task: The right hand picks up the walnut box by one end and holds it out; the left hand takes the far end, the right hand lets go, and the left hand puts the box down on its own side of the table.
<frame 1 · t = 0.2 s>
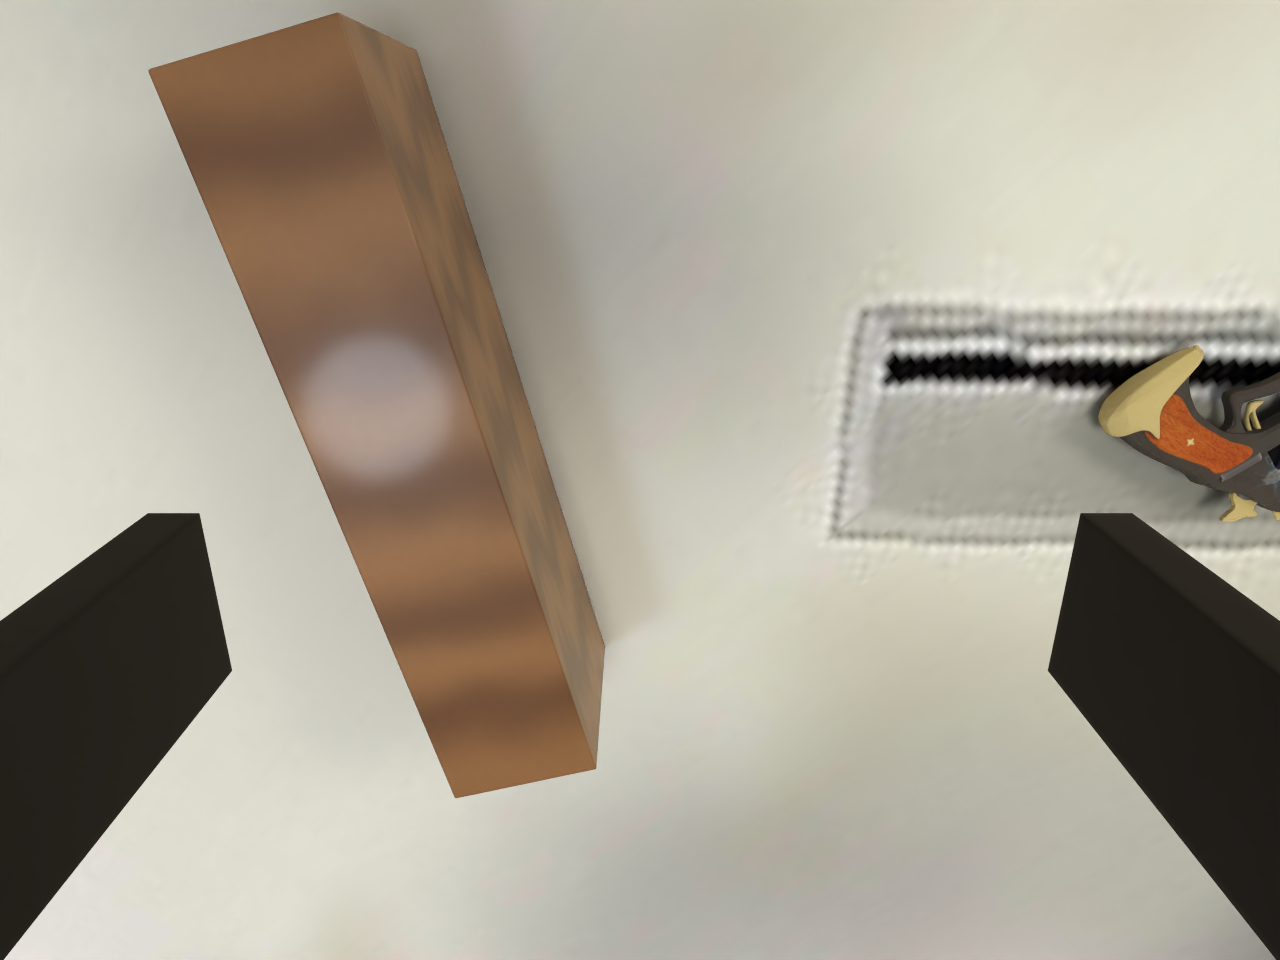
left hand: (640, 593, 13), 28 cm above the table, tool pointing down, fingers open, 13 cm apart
box: (458, 403, 41), on the table
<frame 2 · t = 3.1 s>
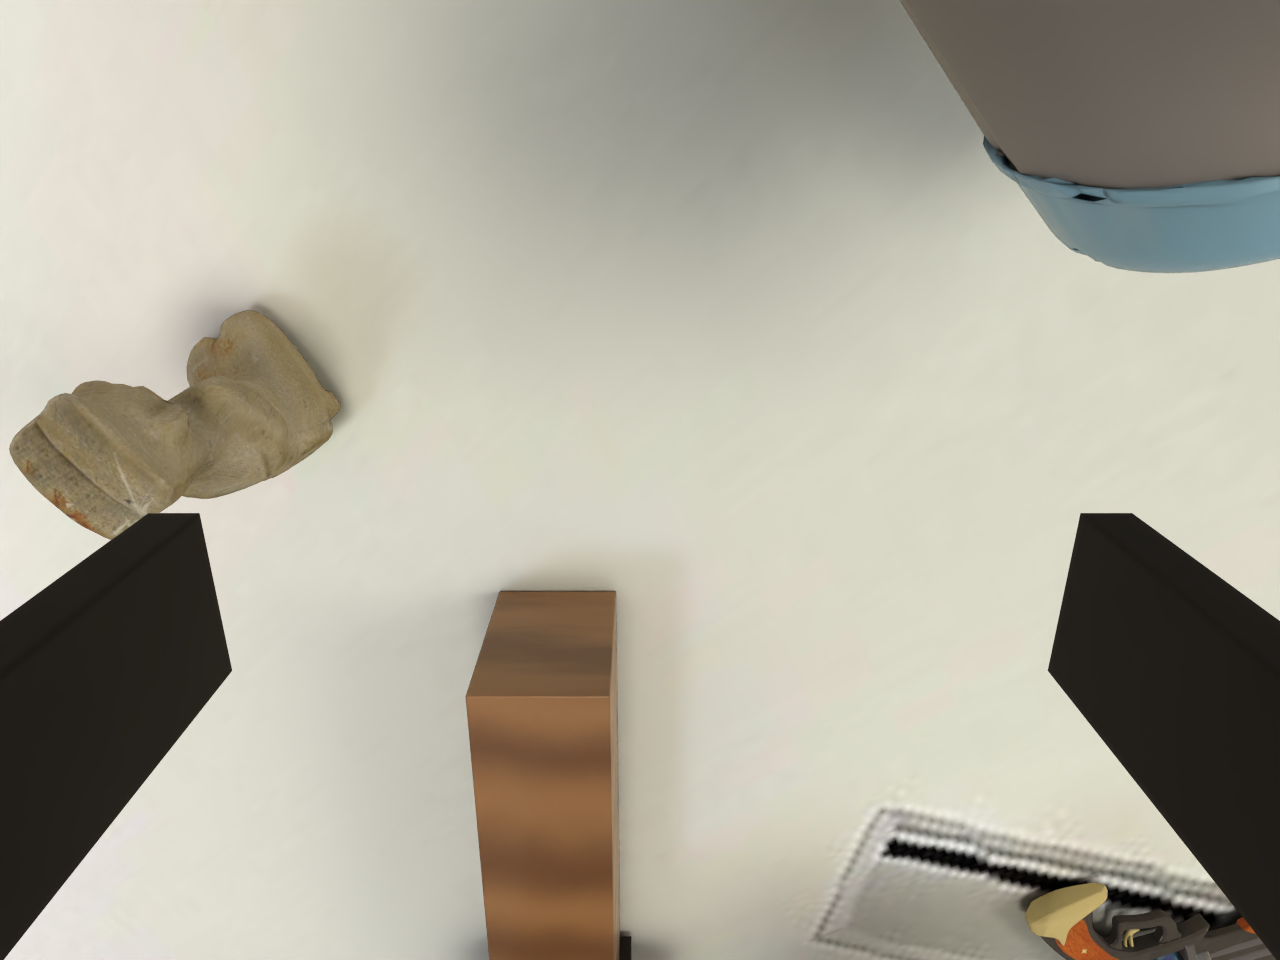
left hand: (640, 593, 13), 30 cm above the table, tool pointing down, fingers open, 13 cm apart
box: (566, 804, 52), on the table, touching right hand
sculpture: (283, 379, 42), on the table
toy gun: (1171, 911, 55), on the table
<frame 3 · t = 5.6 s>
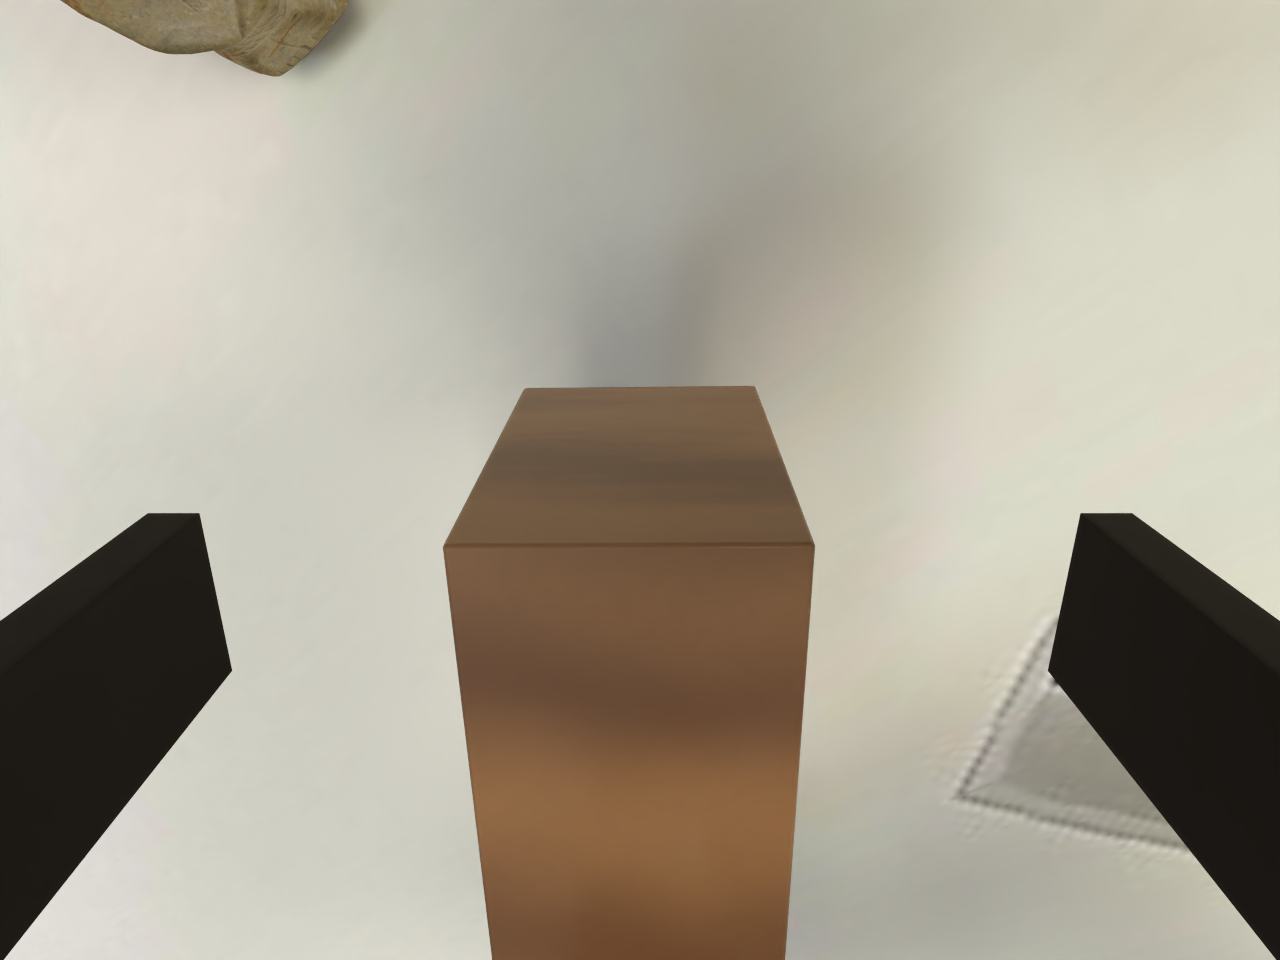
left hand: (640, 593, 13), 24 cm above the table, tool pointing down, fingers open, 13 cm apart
box: (646, 800, 29), point 12 cm above the table, touching right hand
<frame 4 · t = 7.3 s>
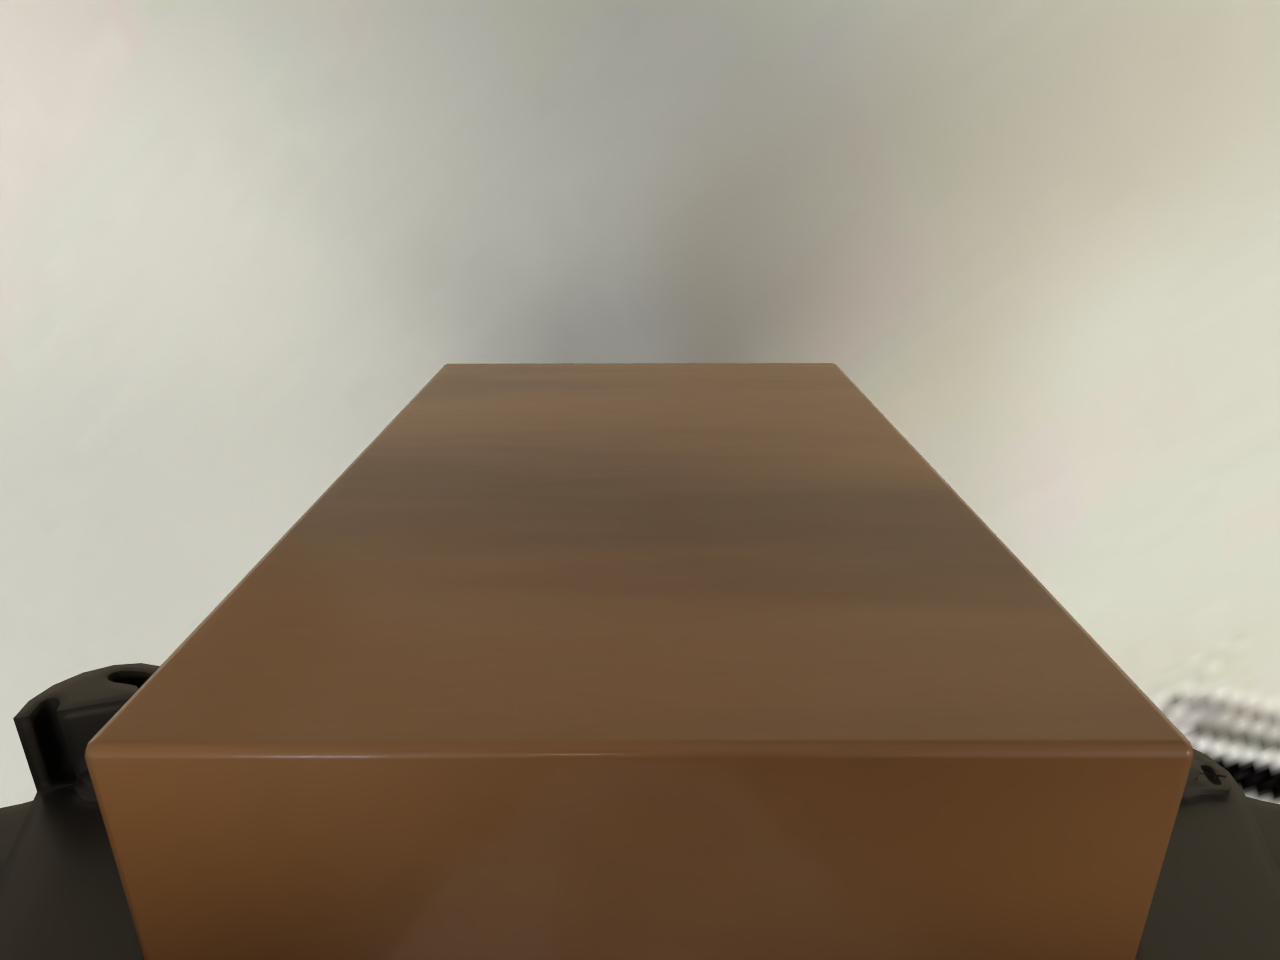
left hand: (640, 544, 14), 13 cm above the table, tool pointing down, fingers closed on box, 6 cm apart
when the right hand's fingers open (13 cm above the table, at t = 8.2 s): box stays where it is, held by the left hand.
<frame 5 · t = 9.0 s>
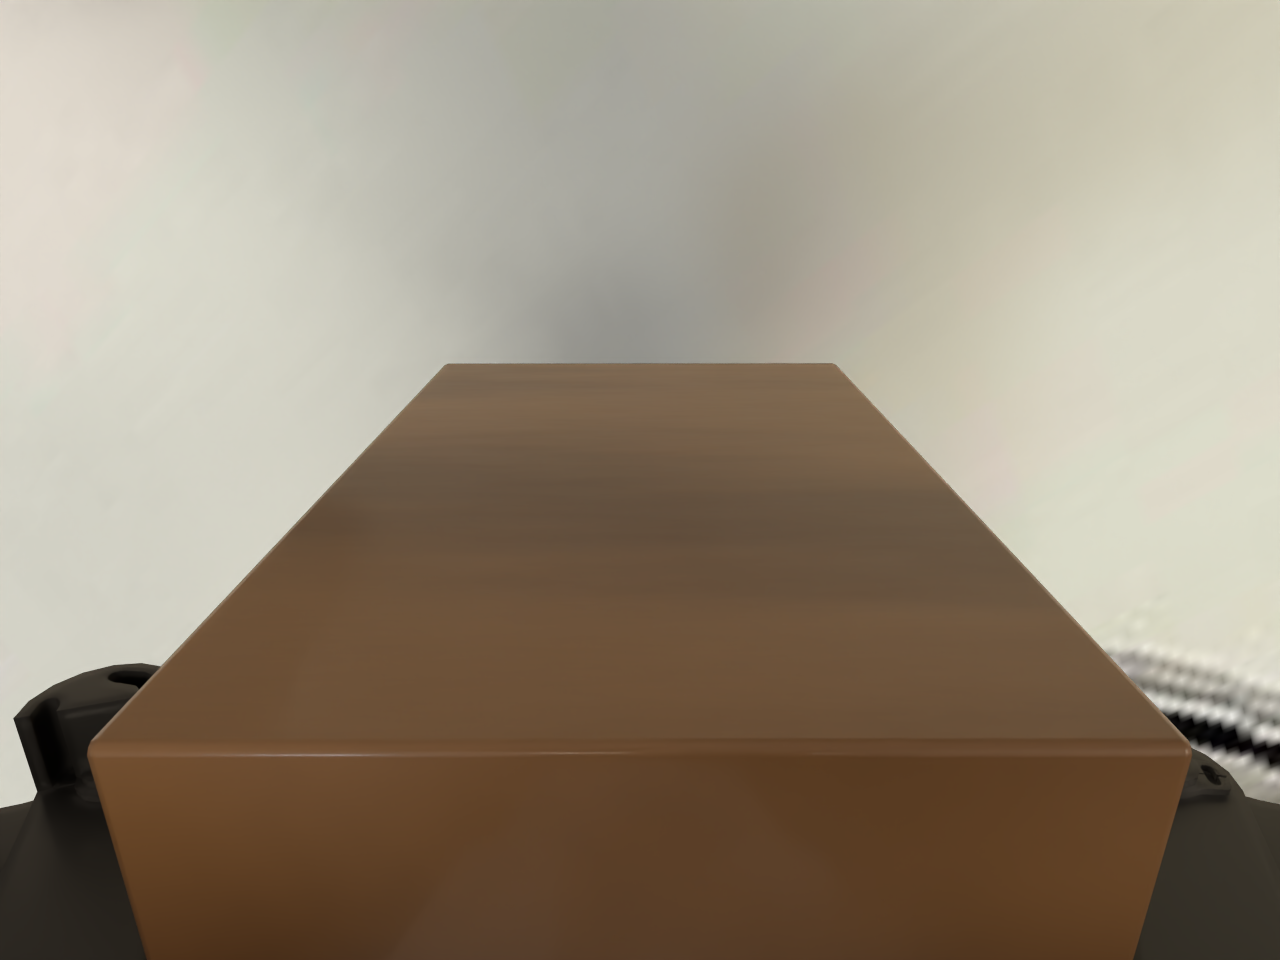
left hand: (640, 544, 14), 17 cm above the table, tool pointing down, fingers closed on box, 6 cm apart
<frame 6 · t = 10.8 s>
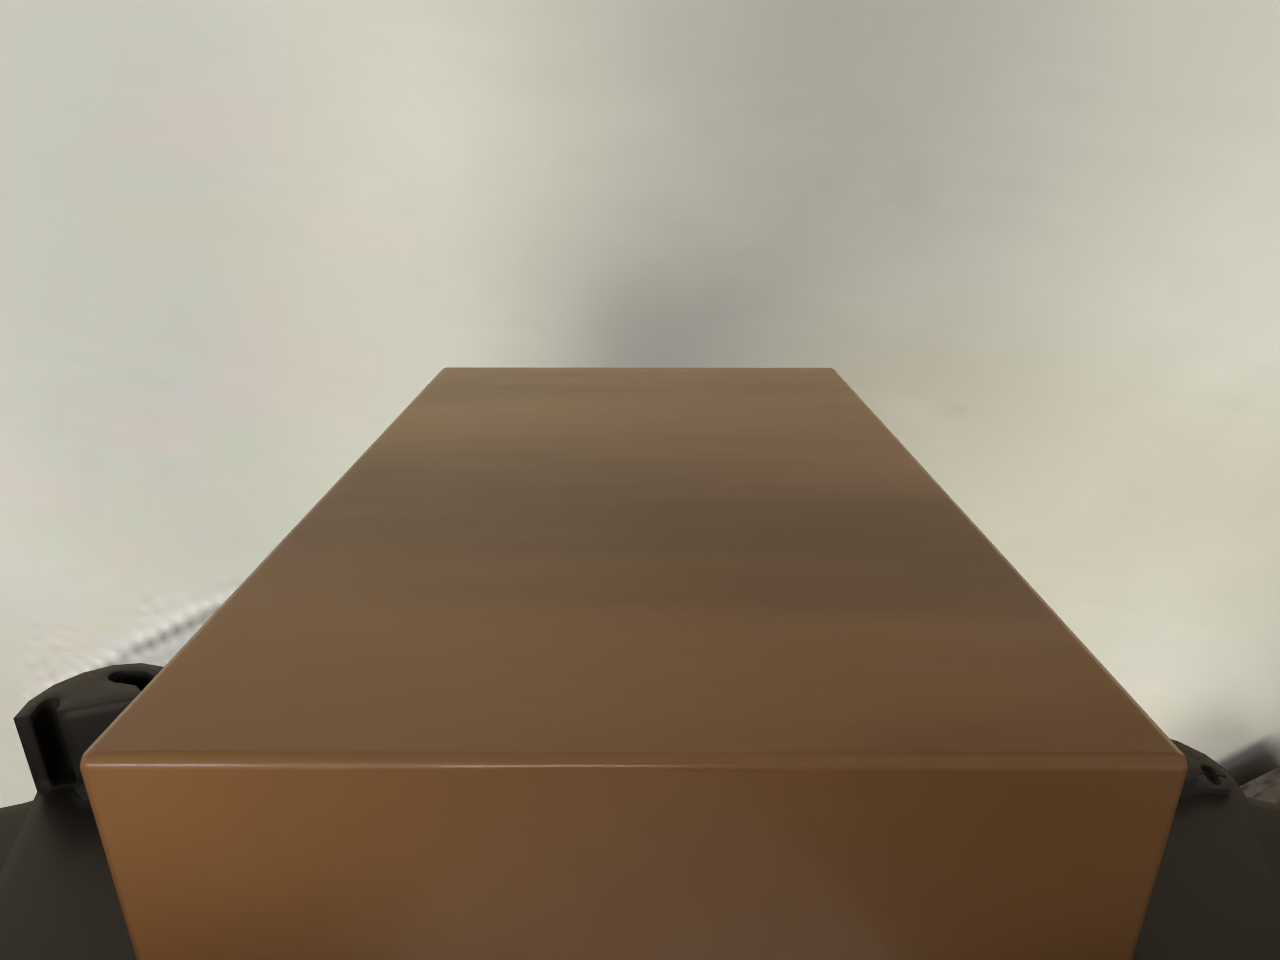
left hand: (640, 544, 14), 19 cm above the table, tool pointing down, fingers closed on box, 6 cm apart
when the left hand's fingers open (2 cm above the table, at t = 14.6 s): box drops 1 cm, on the table.
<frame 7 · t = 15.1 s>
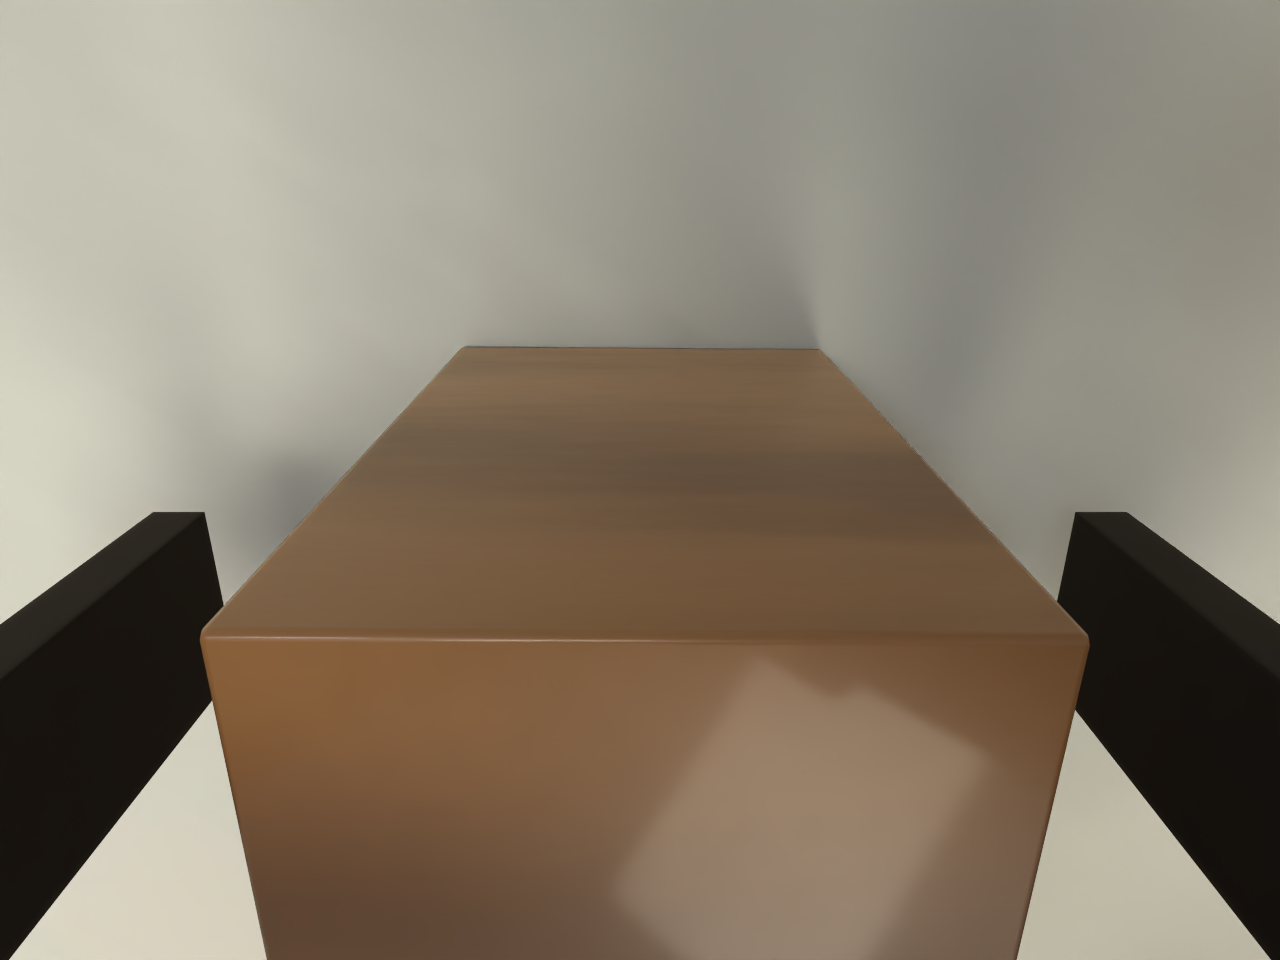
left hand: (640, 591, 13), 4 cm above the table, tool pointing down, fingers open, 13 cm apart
box: (636, 954, 20), on the table
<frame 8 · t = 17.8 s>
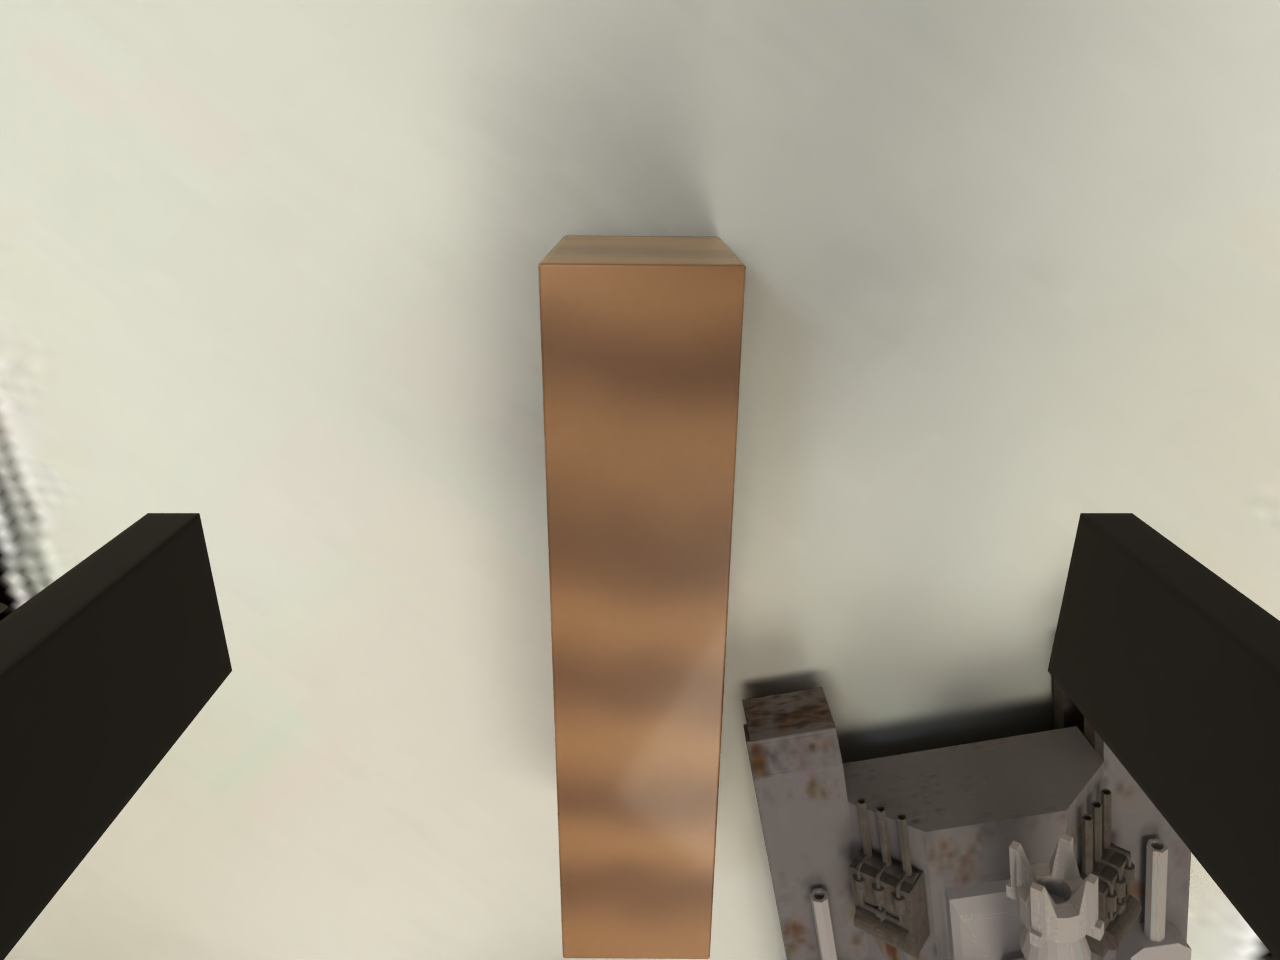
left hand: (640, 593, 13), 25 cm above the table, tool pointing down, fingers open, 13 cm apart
toy: (946, 836, 47), on the table
box: (638, 556, 41), on the table
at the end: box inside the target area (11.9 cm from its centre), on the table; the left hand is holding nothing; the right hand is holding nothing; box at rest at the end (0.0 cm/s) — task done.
